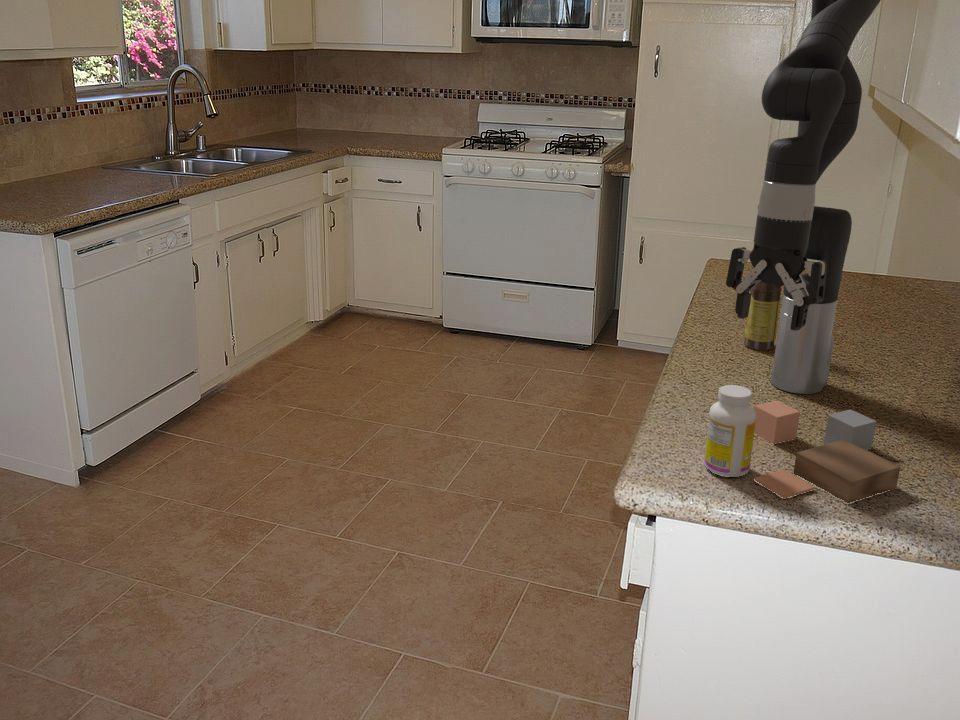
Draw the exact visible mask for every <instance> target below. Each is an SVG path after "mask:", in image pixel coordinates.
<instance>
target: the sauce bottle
mask: <svg viewBox="0 0 960 720" xmlns="http://www.w3.org/2000/svg"><path fill="white" fill-rule="evenodd" d="M749 293H752V294H751V301H750V308H749V315H748V317H747V318H745V319H746V320H745V327H744V341H743V342H744V345H745V346H746V347H748V348H749V349H751V350H754V349H755V350H756V351H762V352H764V351H769V350H772V349H774V346H775V340H777V333H778V325H779V317H780V316H779V315H780V308H781V307H780V305H781V296H782V295H781V293H782V286H778V285H775V284H773V283H763V282H762V281H760V282H759V283H757V284H756V285H755V286H754V287H753V288H752V289H751V290H750V291H749Z"/></svg>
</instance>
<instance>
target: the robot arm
mask: <svg viewBox="0 0 960 720" xmlns="http://www.w3.org/2000/svg"><path fill="white" fill-rule="evenodd" d="M881 1H882V0H811V12H810V13H811V14H810V15H811V16H810V21H809V22H808V24H807V25H806V27H805V29H803V32H802V35H801V36H800V38H799V40H798V42H797V45H796V46H795V49H793V50H792V51H791V52H790V53H789V54H788V55H787V56H786V57H785V58H784V59H782V60H781V61H780V63H778V64H777V65H776V66H775V67H774V68H773V70H772V71H771V72H770V74H769V75H768V77H767V79H766V80H765V83H764V85H763V88H762V92H761V104H762V108H763V110H764V113H765V114H766V115H767V116H768V117H770V118H771V119H772V120H773V119H774V120H778V121H792V122H798V123H797V124H798V126H797V127H798V128H797V136H793V137H785V138H778V139H775V140H774V141H772V142H771V143H770V144H769V147H768V151H767V159H766V164H765V171H764V177H763V180H764V181H763V186H762V188H761V191H760V197H759V201H758V205H757V216H756V221H755V223H756V224H755V229H754V238H753V248H752V250H749V249H748V248H746V247H745V246H744V247H743V246H742V247H737V248H734V249H732V250H731V255H730V260H729V265H728V269H727V270H728V271H727V274H726V280H725V285H726V286H727V288H732V289H733V290H734V291H735V292H736V301H735V306H734V307H735V308H734V311H735V314H737V315H736V317H737V318H738V319H740V320H741V319H742V320H743V319H746V318H747V317H748V315H749V308H750V301H751V294H752V293H749V291H750V290H751V289H752V288H753V287H754V286H755V285H756V284H757V283H759V282H760V281H762V282H763V283H773V284H775V285H778V286H781V287H783V292H782V293H783V294H782V301H781V307H780V313H779V315H780V316H779V320H778V327H777V334H776V344H775V351H774V355H773V356H774V357H773V362H772V363H773V364H772V370H771V379H770V383H771V385H772V386H774V387H775V388H776V389H779V390H781V391H785V392H789V393H792V394H801V395H812V394H817V393H819V392H822V391H823V388H824V387H827V385H828V380H829V374H830V368H831V367H830V366H831V364H832V363H831V361H832V355H833V349H834V345H835V338H834V337H833V328H834V323H835V318H836V310H837V305H838V299H839V292H840V288H841V281H842V275H843V270H844V265H845V261H846V255H847V252H848V247H849V244H850V238H851V234H852V226H853V221H852V216H851V213H850V212H849V211H848V210H846V209H841V208H836V207H835V208H834V207H833V208H832V207H825V206H817V205H815V204H816V185H817V182H818V180H820V178H821V176H822V175H823V174H824V172H825V171H826V170H827V168H828V167H829V166H830V165H831V164H832V163H833V161H834V160H835V159H836V158H837V157H838V156H839V155H840V154H841V152H842V151H843V150H844V149H845V147H847V145H848V144H849V143H850V141H851V140H852V138H853V137H854V135H855V133H856V131H857V128H858V124H859V123H858V122H859V115H860V109H861V103H862V102H861V101H862V96H863V88H862V84H861V80H860V78H859V76H858V73H857V71H856V68H855V67H854V65H853V62H852V61H851V59H850V57H849V55H848V54H849V51H850V50H851V47H852V45H853V43H854V40H855V38H856V36H858V33H859V32H860V30H861V29H862V28H863V26H864V24H865V23H866V22H867V21H868V20H869V18H870V17H871V16H872V14H873V12H874V11H875V10H876V8H877V7H878V6H879V4H880V2H881ZM811 260H812V261H811ZM748 261H749V262H750V263H751V265H752V267H753V268H752V270H750V271H749V273H748V274H747V275H745V277H744V278H743V273H744V270H745V264H746V263H748ZM805 270H807V272H806V273H803V272H804V271H805ZM742 279H743V280H742Z"/></svg>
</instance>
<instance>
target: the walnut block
mask: <svg viewBox="0 0 960 720" xmlns="http://www.w3.org/2000/svg"><path fill="white" fill-rule="evenodd" d="M793 467H794V468H793V473H794V474H795V475H798V476H800V477H802V478H804V479H805V480H807V481H809V482H811V483H813V484H815V485H816V486H818V487H820V488H822V489H824V490H825V491H827V492H829V493H831V494H832V495H834V496H835V497H837V498H840V499H842V500H844V501H845V502H847V503H850V502H853V501H856V500H860V499H863V498H866V497H869V496H872V495H875V494H877V493H882V492H885V491H888V490H892V489H895V488H896V489H897V485H898V481H899V476H900V471H901V470H900V469H901V466H900V465H897V464H895V463H894V462H891V461H890V460H888V459H886V458H884V457H881V456H879V455H877V454H875V453H873V452H871V451H870V450H865V449H863V448H861V447H859V446H857V445H855V444H853V443H851V442H849V441H846V440H844V439H843V440H839V441H836V442H832V443H829V444H825V443H824V444H823V445H818V446H815V447H812V448H808V449H805V450H801V451H798V452H796V454H795V461H794V466H793ZM793 473H792V474H793ZM896 489H895V490H896ZM892 491H893V490H892Z"/></svg>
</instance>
